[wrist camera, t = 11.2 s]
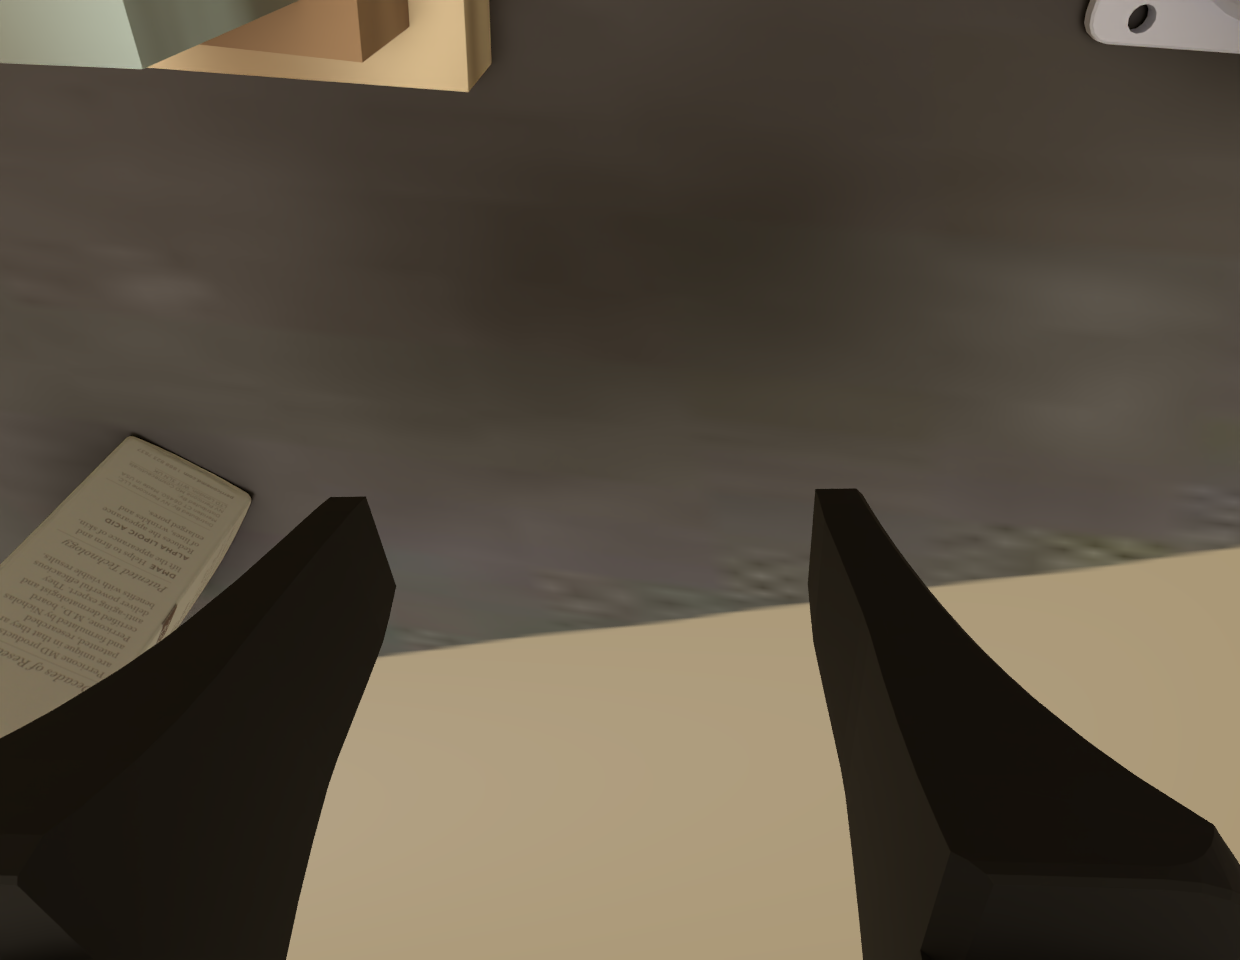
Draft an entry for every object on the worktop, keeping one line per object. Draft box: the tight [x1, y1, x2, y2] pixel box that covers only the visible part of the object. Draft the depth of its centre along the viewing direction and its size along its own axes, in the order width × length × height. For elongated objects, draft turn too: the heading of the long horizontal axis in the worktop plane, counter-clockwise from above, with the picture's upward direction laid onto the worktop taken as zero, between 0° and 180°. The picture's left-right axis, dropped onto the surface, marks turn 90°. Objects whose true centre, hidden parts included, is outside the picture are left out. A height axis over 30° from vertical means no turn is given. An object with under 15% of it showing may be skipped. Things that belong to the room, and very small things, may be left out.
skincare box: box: [0, 436, 251, 738], centre depth 24 cm, size 6×4×12 cm
